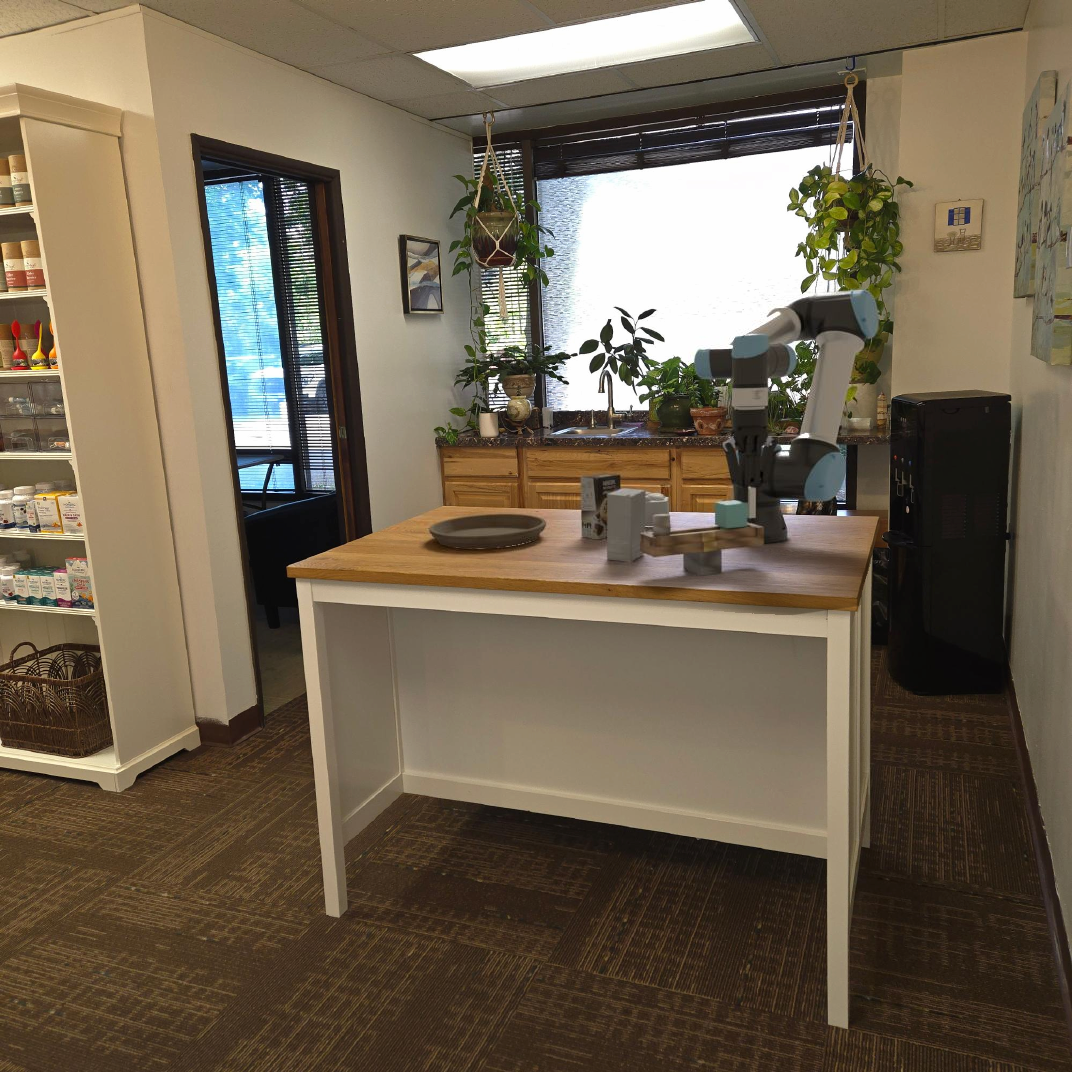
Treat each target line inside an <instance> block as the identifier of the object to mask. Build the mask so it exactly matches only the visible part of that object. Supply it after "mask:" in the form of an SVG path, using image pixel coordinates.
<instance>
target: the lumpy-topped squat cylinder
mask: <svg viewBox="0 0 1072 1072" xmlns="http://www.w3.org/2000/svg"><path fill="white" fill-rule="evenodd" d="M656 514H668V515H670V498H669V496H668V497H667V496H665V495H664V494H662V493H658V492H653V493H652V492H649V491H645V526H653V515H656Z"/></svg>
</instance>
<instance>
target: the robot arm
mask: <svg viewBox="0 0 1072 1072" xmlns="http://www.w3.org/2000/svg"><path fill="white" fill-rule="evenodd" d="M878 330H879V311H878V305H877V302H876V299H875V297H874V296H873V294H872V293H871V292H870V291H869V290H866V289H850V290H840V291H827V292H814V293H813V292H812V293H807V294H804V295H799V296H797V297H794V298H792V299H790V300H789V301H786V302H784V303H783V304H780V305H779V306H776V307H775V308H773V309H772V310H771V311H769V313H767V315H766V317H765V318H764V319H762V320H760V321H759V322H757V323H755V324H753V325H751V326H750V327H748V328H746V329H744V330H743V331H741V332H740V333H737V334H736V335H734V336H732V337H731V338H729V339H727V340H725V341H723V342H721V343H720V344H717V345H707V346H706V345H705V346H702V347H699V349H697V351H696V353H695V354H694V360H693V364H694V370H695V374H696V375H697V377H699V378H700V379H701V380H712V381H714V380H732V381H731V382H732V383H731V406H732V407H733V408H734V409H732V411H731V427H732V431H731V433H730V437H729V439H727V440H726V441H722V442H721V443H720V446H721V448H722V450H723V452H724V453H725V459H726V462H727V466H728V467H727V468H728V472H729V476H730V482H731V484H732V500H737V501H740V502H744V503H747V522H748V523H752V524H755V525H759V526H762V527H764V544H770V543H777V542H782V541H783V542H784V541H785V540H787V539H788V527H787V524H786V520H785V517H784V514H783V512H782V508H781V499H783V500H784V499H785V500H794V501H795V500H797V501H807V502H811V503H812V502H827V501H830V500H832V499H833V498H834V497H836V496H837V495H838V493H839V492H840V490H841V489H842V486H843V484H844V481H845V478H846V473H847V471H846V467H847V464H846V463H847V462H846V460H845V459H846V458H845V457H844V456H843V454H842V453H841V448H840V446H839V445H838V444H837V439H838V434H839V430H840V429H839V428H840V426H841V425H840V424H841V420H842V417H843V411H844V407H845V403H846V399H847V393H848V389H849V385H850V381H851V377H852V371H853V369H854V368H853V367H854V363H855V359H856V354H858V353H860V352H861V351H862V350H863V349H864V348H865V344H866V340H867V339H868V340H869V339H872V338H874V337H875V336H876V335H877V333H878ZM799 341H800V342H802V341H815V343H816V344H817V346H818V347H819V352H818V355H817V359H816V364H815V369H814V372H813V375H812V380H811V384H810V385H811V386H810V390H809V394H808V399H807V401H806V406H805V412H804V416H803V420H802V424H801V427H800V432H799V435H798V436H797V437H795V438H793V439H792V440H791V444H790V447H789V450H783V449H782V448H783V447H782V445H781V444H779V440H778V439H777V438H775V439H774V438H773V437H771V436H770V434H769V431H768V428H767V426H768V424H769V420H768V419H769V411H768V409H767V408H766V407H767V406H768V405H769V404H768V403H769V379H781V378H784V377H787V376H790V375H791V374H792V373H793V371H794V370H795V368H796V366H797V363H798V362H797V359H798V358H797V353H796V351H795V350H794V349H793V347H792V346H790V344H792V343H794V342H799ZM735 448H737V450H735Z"/></svg>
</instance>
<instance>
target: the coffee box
mask: <svg viewBox="0 0 1072 1072" xmlns="http://www.w3.org/2000/svg"><path fill="white" fill-rule="evenodd" d="M621 487H622V486H621V474H617V473H599V474H591V475H585V476H580V513H581V514H580V515H581V516H580V517H581V518H580V519H581V524H580V525H581V538H586V537H587V538H588V539H591V538H593V539H592V540H596V539H598V540H603V539H607V538H606V537H607V494H609V493H612V492H615V491H617V490H619V489H622V488H621ZM587 538H586V539H587ZM602 538H603V539H602Z"/></svg>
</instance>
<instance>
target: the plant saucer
mask: <svg viewBox="0 0 1072 1072" xmlns="http://www.w3.org/2000/svg"><path fill="white" fill-rule="evenodd" d="M546 526H547V521H546V520H545V519H544V518H542V517H539V516H536V515H530V514H524V513H523V514H522V513H491V514H490V513H488V514H487V513H486V514H485V513H484V514H476V515H474V514H473V515H468V516H460V517H453V518H449V519H445V520H441V521H439V522H436V523H433V524H432V525H430V526H429V527H428V531H429V533H430V534H431V536H432V537H433V538H434V539H436V540H437V542H438V543H439V544H440V543H441V544H443V545H446V546H450V547H449V548H451V547H458V548H457V549H459V548H495V549H498V548H497V547H506V546H512V545H518V544H522V543H526V542H529V541H532V542H534V541H535V539H536V540H537V539H538V538H539V537H540V534H541V533H542V532H543V531H545V528H546ZM533 540H534V541H533ZM441 544H440V545H441ZM443 545H442V546H443ZM446 546H445V547H446ZM518 546H519V545H518ZM506 548H507V547H506Z"/></svg>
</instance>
